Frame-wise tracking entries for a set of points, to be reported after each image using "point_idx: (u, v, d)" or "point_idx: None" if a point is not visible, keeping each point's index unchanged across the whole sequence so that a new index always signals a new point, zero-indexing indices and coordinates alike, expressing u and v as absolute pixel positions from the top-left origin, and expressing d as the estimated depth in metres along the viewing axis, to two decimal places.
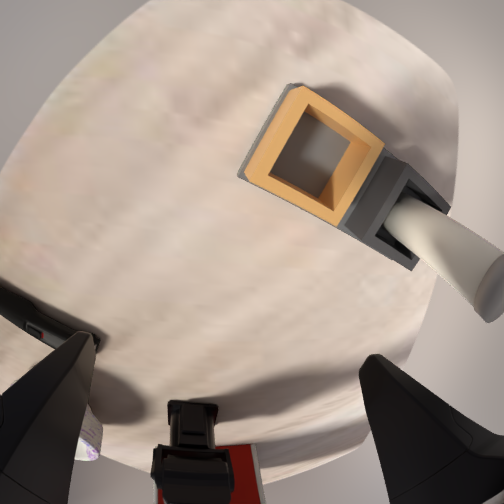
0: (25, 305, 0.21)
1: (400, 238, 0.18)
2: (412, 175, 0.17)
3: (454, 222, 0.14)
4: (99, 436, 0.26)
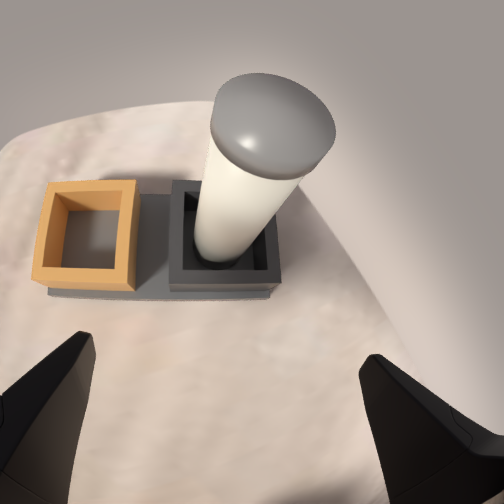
0: None
1: (210, 249, 0.15)
2: (187, 186, 0.17)
3: None
4: None
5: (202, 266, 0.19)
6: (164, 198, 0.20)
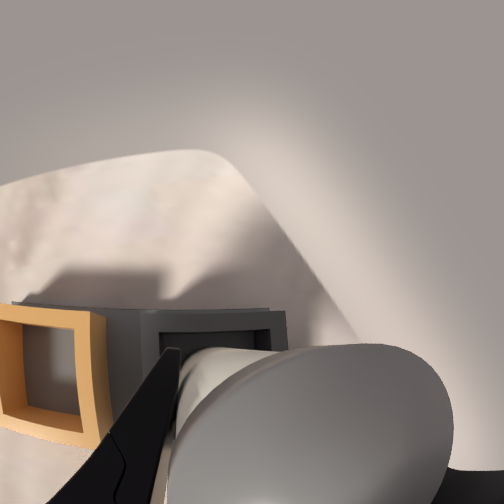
0: None
1: None
2: (161, 323, 0.11)
3: (203, 360, 0.07)
4: None
5: None
6: (136, 315, 0.14)
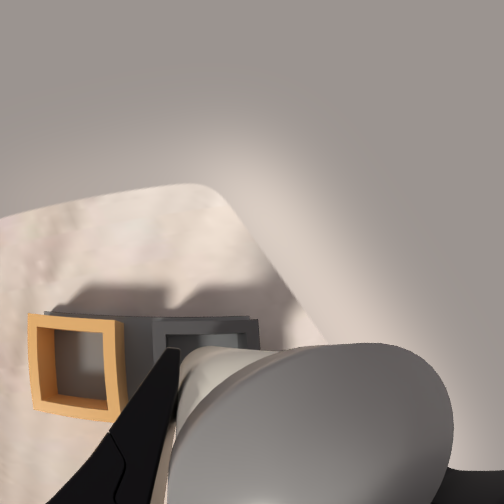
0: None
1: None
2: (167, 328, 0.16)
3: (203, 360, 0.07)
4: None
5: None
6: (147, 321, 0.18)
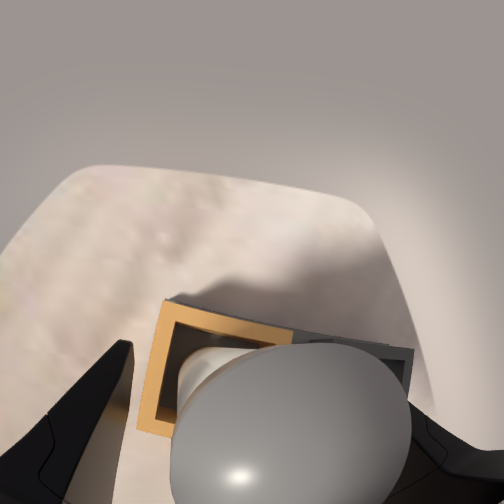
0: None
1: None
2: None
3: (201, 358, 0.08)
4: None
5: None
6: (301, 335, 0.17)
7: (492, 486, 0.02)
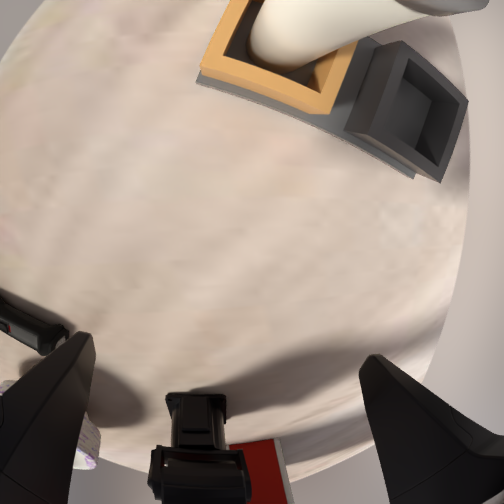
0: None
1: (272, 52, 0.10)
2: (412, 54, 0.11)
3: None
4: (93, 440, 0.22)
5: None
6: (368, 40, 0.13)
7: None
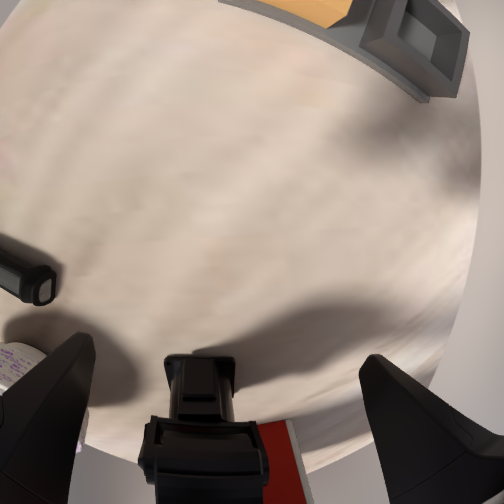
0: None
1: None
2: None
3: None
4: None
5: None
6: None
7: None
